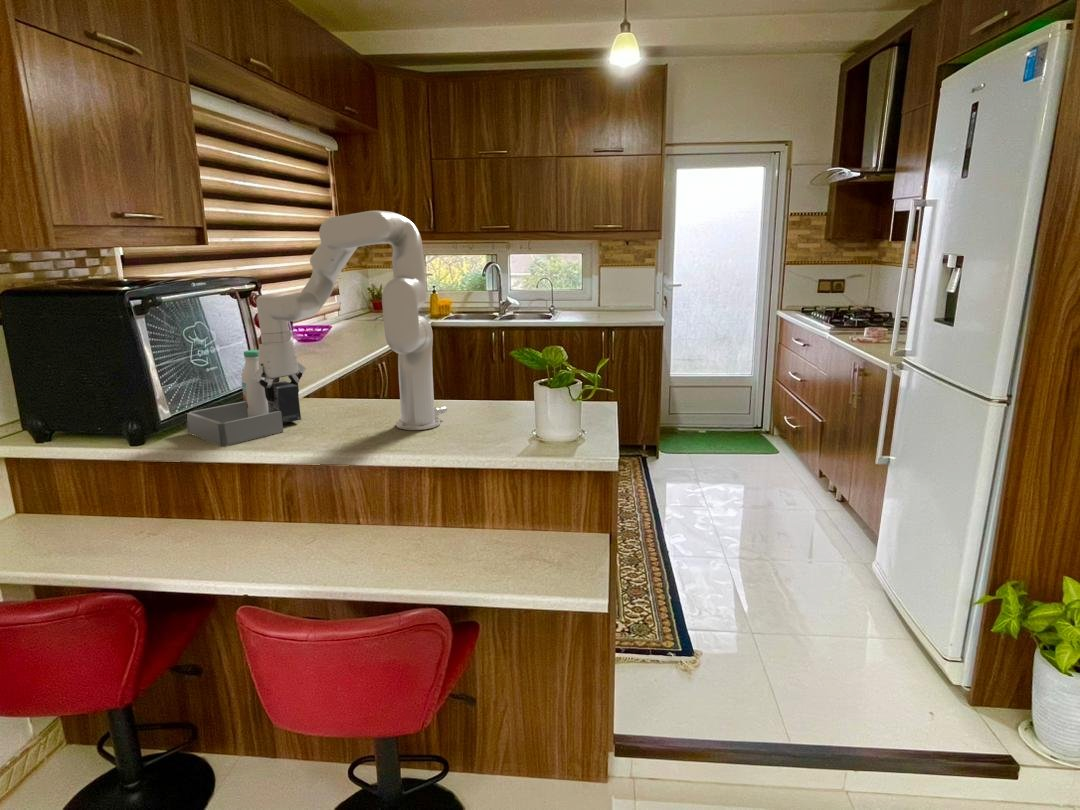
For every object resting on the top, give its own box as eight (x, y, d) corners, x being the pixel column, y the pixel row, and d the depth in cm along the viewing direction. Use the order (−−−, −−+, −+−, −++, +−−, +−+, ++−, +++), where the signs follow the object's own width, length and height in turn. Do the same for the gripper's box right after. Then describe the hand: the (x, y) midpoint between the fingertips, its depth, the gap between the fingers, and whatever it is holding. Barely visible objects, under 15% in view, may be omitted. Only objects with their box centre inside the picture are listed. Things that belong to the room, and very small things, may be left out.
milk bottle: (277, 411, 210) (270, 348, 205) (264, 418, 203) (257, 352, 198) (253, 411, 211) (246, 348, 206) (240, 417, 203) (232, 352, 199)
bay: (246, 420, 200) (244, 401, 198) (283, 432, 187) (281, 411, 186) (187, 433, 187) (184, 412, 185) (222, 446, 174) (220, 424, 173)
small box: (303, 419, 196) (298, 384, 193) (280, 424, 192) (276, 388, 189) (290, 413, 204) (285, 379, 201) (268, 417, 200) (263, 383, 197)
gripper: (295, 333, 201) (302, 391, 205) (239, 341, 188) (248, 402, 192) (309, 335, 196) (316, 394, 200) (253, 343, 183) (261, 406, 187)
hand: (283, 397), depth 196 cm, fingers closed on small box, 7 cm apart
